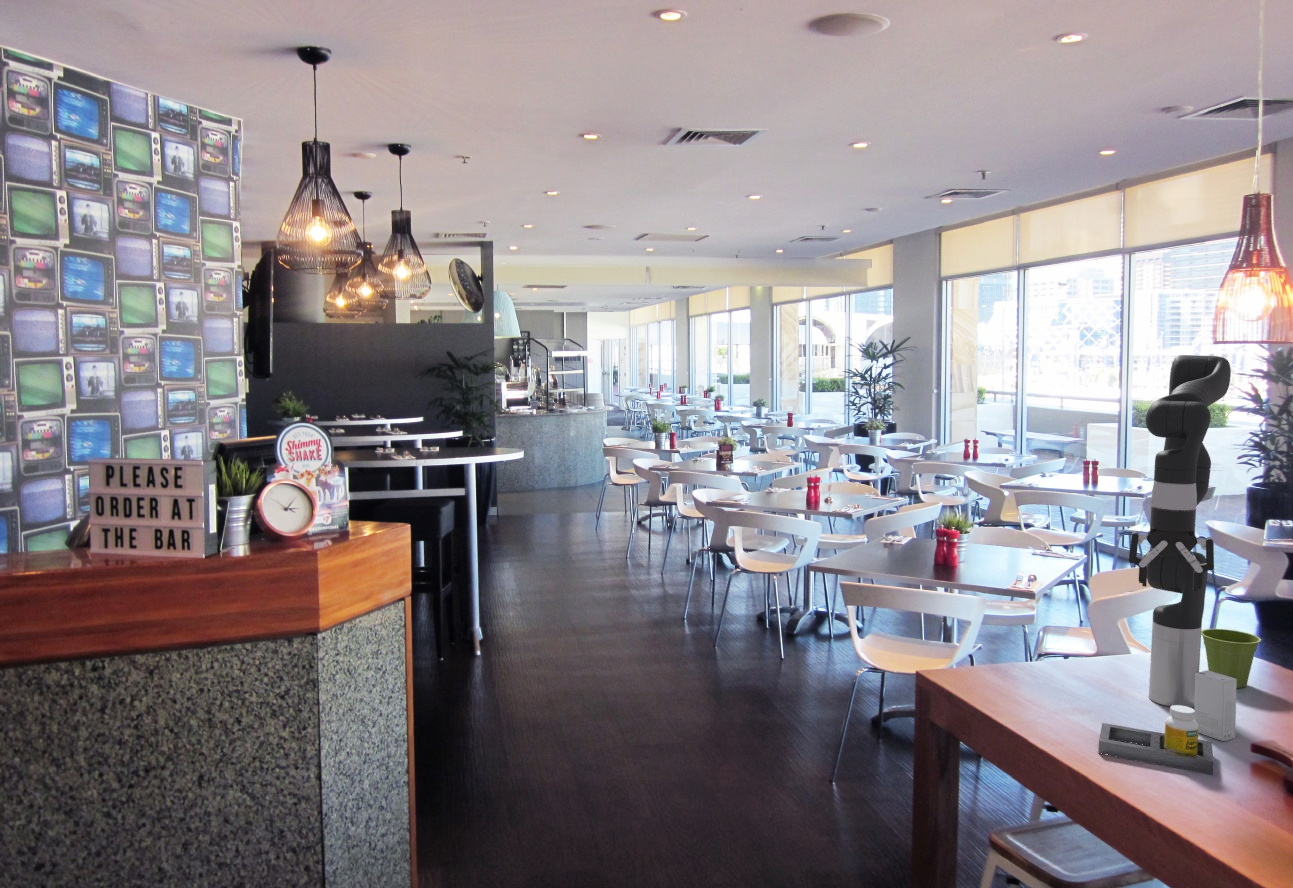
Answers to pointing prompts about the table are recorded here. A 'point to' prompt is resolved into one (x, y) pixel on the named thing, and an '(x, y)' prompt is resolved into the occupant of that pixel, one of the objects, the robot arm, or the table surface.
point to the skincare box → (1215, 705)
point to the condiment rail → (1153, 749)
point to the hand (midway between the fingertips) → (1169, 588)
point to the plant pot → (1230, 653)
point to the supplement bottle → (1181, 730)
